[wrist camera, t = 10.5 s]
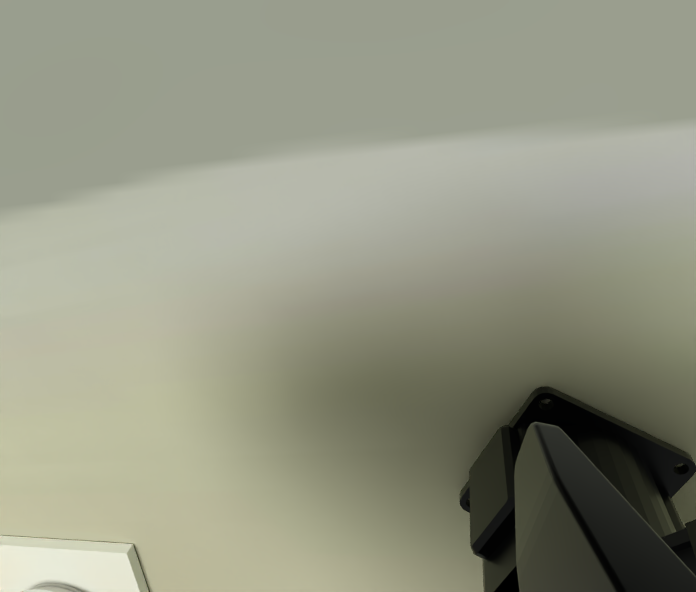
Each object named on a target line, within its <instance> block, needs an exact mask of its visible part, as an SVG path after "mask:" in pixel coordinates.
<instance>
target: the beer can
mask: <svg viewBox="0 0 696 592" xmlns="http://www.w3.org/2000/svg"><path fill="white" fill-rule="evenodd" d="M22 592H82V591H80V590H78V589H76V588H73V587H71V586H67V585H64V584H58V583H45V584H41V585H38V586H36V587H34V588H33V589H29V590H25V591H22Z"/></svg>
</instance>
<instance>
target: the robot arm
mask: <svg viewBox="0 0 696 592" xmlns="http://www.w3.org/2000/svg"><path fill="white" fill-rule="evenodd" d="M545 398H547V399H550V400H551V402H549V403H548V404H542V403H540V401H541V400H542V399H545ZM681 463H683V464H684V465H683V466H681V467H675V466H676V465H677V464H681ZM695 472H696V465H695V463H694V461H693V459H692V458H691V456H690V455H689V454H688V453H686V452H684V451H682V450H680V449H678V448H676V447H674V446H672V445H670V444H667V443H665V442H663V441H661V440H659V439H657V438H655V437H653V436H651V435H649V434H647V433H645V432H642V431H640V430H638V429H636V428H634V427H632V426H630V425H628V424H626V423H624V422H622V421H619V420H617V419H615V418H613V417H611V416H609V415H607V414H605V413H603V412H601V411H599V410H597V409H594V408H592V407H590V406H588V405H586V404H584V403H582V402H580V401H578V400H576V399H574V398H571V397H569V396H567V395H565V394H563V393H561V392H559V391H557V390H555V389H553V388H550V387H540V388H538V389H536V390H535V391H534V392H532V394H531V395H530V397H529V398H528V399H527V401H526V402H525V403H524V405H523V406H522V408H521V409H520V410H519V412H518V413H517V415H516V416H515V417H514V419H513V420H512V421H511V423H510V424H509V425H505V426H503V427H500V428H499V430H498V431H497V432H496V434H495V435H494V436H493V438H492V439H491V441H490V442H489V443H488V445H487V446H486V448H485V449H484V450H483V452H482V453H481V455H480V456H479V457H478V459H477V460H476V462H475V463H474V464H473V466H472V467H471V469H470V471H469V481H468V482H467V483H466V485H465V486H464V488H463V489H462V490H461V492H460V505H461V507H462V508H463V509H464V510H465V511H467V512H469V513H470V543H471V548H472V551H473V554H474V555H476V556H479V557H481V558H483V583H484V592H696V520H693V521H691V522H688V523H686V524H685V526H686V528H684V526H683V524H682V522H681V520H680V517H679V515H678V513H677V511H676V509H675V506H674V504H673V502H672V500H671V498H672V497H673V495H674V494H675V493H676V492H677V491H678V490H679V489H680V488H681V487H682V486H683V485H684V484H685V483H686V482H687V481H688V480H689V479H690V478H691V477H692V476H693V475H694V473H695ZM469 498H470V500H468V499H469Z"/></svg>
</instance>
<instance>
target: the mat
mask: <svg viewBox="0 0 696 592" xmlns="http://www.w3.org/2000/svg"><path fill="white" fill-rule="evenodd" d="M45 583H58V584H64V585H67V586H71V587H73V588H76V589H78V590H80V591H82V592H149V590H148V587H147V584H146V581H145V578H144V575H143V572H142V569H141V567H140V564H139V561H138V558H137V555H136V552H135V549H134V546H133V544H126V543H111V542H95V541H80V540H64V539H48V538H33V537H17V536H1V535H0V592H22V591H25V590H29V589H33V588H34V587H36V586H38V585H41V584H45Z"/></svg>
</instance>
